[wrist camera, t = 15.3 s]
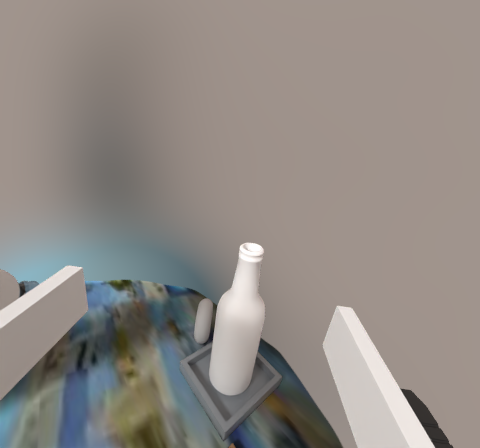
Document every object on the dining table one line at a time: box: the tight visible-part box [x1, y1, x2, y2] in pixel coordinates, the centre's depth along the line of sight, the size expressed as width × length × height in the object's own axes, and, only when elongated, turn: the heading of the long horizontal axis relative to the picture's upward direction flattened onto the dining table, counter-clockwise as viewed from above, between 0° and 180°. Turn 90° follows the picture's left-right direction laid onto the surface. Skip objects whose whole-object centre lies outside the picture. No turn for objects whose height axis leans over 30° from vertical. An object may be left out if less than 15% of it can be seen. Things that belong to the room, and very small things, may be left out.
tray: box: [180, 342, 282, 441], centre depth 46 cm, size 15×15×2 cm
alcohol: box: [209, 243, 265, 396], centre depth 41 cm, size 9×9×30 cm
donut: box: [194, 298, 213, 344], centre depth 53 cm, size 10×4×10 cm, turn 0°
